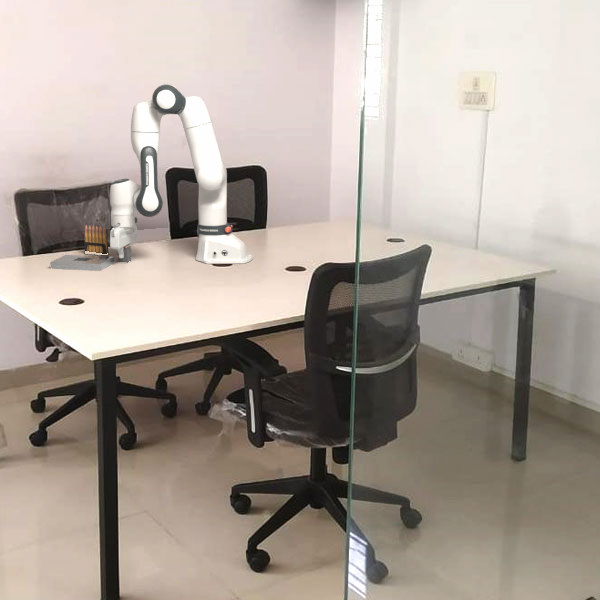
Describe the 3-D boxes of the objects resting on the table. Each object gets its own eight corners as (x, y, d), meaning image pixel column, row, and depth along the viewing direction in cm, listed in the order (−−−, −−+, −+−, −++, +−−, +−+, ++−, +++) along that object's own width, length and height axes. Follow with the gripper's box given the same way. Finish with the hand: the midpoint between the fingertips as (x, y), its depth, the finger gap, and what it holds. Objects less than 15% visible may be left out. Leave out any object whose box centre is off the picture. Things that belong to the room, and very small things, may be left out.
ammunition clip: (84, 254, 369) (82, 225, 366) (87, 253, 371) (85, 224, 368) (106, 256, 365) (104, 226, 362) (108, 255, 367) (107, 226, 364)
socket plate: (114, 262, 353) (114, 254, 352) (100, 270, 339) (100, 261, 339) (66, 261, 356) (65, 252, 355) (50, 268, 343) (50, 260, 342)
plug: (131, 260, 357) (130, 245, 355) (127, 262, 353) (126, 247, 351) (121, 260, 357) (120, 244, 356) (117, 262, 354) (117, 246, 352)
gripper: (120, 226, 341) (122, 262, 344) (139, 217, 360) (140, 251, 364) (104, 225, 342) (106, 261, 345) (124, 217, 361) (125, 251, 365)
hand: (124, 256), depth 355 cm, fingers closed on plug, 4 cm apart
